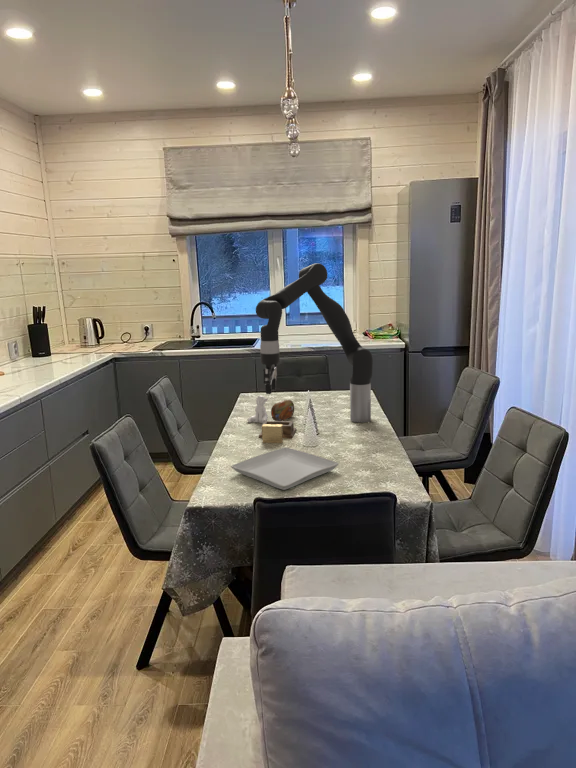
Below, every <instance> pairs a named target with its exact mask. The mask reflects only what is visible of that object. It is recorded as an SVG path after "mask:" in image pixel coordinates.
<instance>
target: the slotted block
mask: <svg viewBox="0 0 576 768" xmlns="http://www.w3.org/2000/svg"><path fill="white" fill-rule="evenodd" d="M263 424H283V439H293V437H294V435H295V434H296V432H297V427H295V426H294V421H293V420H292V421H290V420H288V421H287V420H283V421H275V420H267V421H265V422H264V423H261V427H262V426H263ZM258 438H260V439H261V438H262V431H261V432H259V435H258ZM262 439H263V438H262Z"/></svg>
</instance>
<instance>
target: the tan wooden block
mask: <svg viewBox="0 0 576 768" xmlns="http://www.w3.org/2000/svg"><path fill="white" fill-rule="evenodd" d="M262 424H263V423H262ZM261 432H262V443H263V444H283V443H284V438H283V424H263V426H262V425H261Z"/></svg>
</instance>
